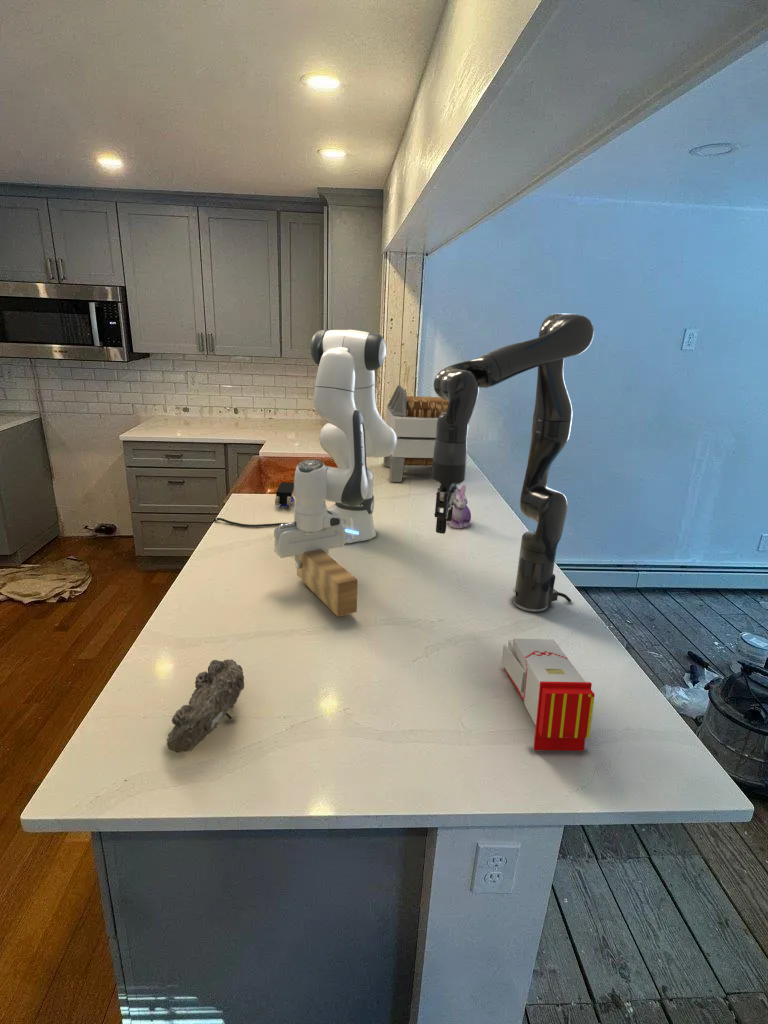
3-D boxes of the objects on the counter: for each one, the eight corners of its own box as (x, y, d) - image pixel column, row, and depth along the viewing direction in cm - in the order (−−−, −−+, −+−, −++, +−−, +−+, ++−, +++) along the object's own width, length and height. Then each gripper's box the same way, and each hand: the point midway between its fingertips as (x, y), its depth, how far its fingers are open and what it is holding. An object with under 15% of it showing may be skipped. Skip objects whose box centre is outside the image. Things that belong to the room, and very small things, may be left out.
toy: (549, 621, 128) (604, 690, 99) (544, 676, 131) (595, 758, 101) (496, 620, 128) (535, 688, 98) (492, 675, 130) (528, 757, 101)
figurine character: (292, 514, 217) (296, 498, 230) (291, 496, 214) (296, 480, 227) (274, 514, 217) (280, 497, 230) (273, 496, 213) (279, 480, 227)
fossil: (192, 660, 117) (244, 628, 112) (224, 691, 120) (276, 661, 115) (142, 746, 98) (202, 712, 93) (182, 779, 101) (242, 748, 96)
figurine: (456, 530, 205) (460, 491, 199) (441, 521, 213) (444, 483, 208) (477, 527, 209) (481, 488, 204) (461, 518, 217) (465, 480, 212)
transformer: (382, 463, 289) (386, 382, 275) (445, 464, 293) (451, 384, 279) (390, 482, 257) (394, 392, 243) (460, 483, 261) (468, 394, 247)
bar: (296, 575, 162) (296, 545, 159) (313, 571, 165) (313, 542, 162) (337, 616, 141) (338, 583, 138) (356, 612, 144) (357, 579, 141)
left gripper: (278, 529, 147) (279, 577, 152) (348, 518, 157) (347, 563, 162) (269, 521, 152) (271, 568, 157) (338, 511, 163) (337, 555, 167)
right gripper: (461, 469, 120) (455, 539, 126) (470, 454, 133) (464, 518, 139) (426, 465, 122) (421, 535, 128) (439, 450, 135) (434, 514, 141)
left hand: (310, 565), depth 160 cm, fingers closed on bar, 5 cm apart
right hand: (444, 526), depth 133 cm, fingers open, 8 cm apart
